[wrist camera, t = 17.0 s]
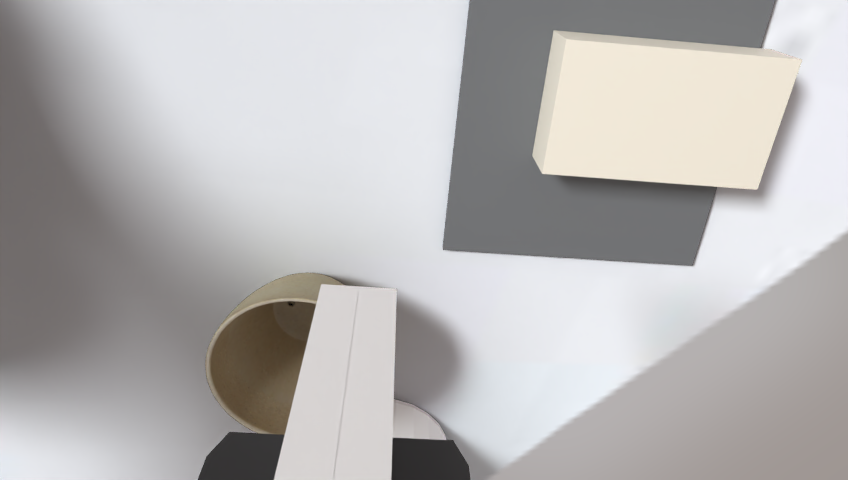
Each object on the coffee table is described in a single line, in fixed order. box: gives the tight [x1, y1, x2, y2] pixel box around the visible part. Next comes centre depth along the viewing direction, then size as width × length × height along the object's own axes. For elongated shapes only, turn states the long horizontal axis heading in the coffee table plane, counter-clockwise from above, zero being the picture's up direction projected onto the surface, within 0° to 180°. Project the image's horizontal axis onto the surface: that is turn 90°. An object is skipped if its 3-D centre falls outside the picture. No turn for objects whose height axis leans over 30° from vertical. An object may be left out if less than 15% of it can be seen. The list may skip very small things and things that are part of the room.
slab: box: [532, 30, 802, 190], centre depth 34 cm, size 3×7×12 cm
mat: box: [443, 0, 775, 266], centre depth 35 cm, size 16×22×1 cm
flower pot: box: [205, 273, 345, 435], centre depth 38 cm, size 10×10×7 cm
